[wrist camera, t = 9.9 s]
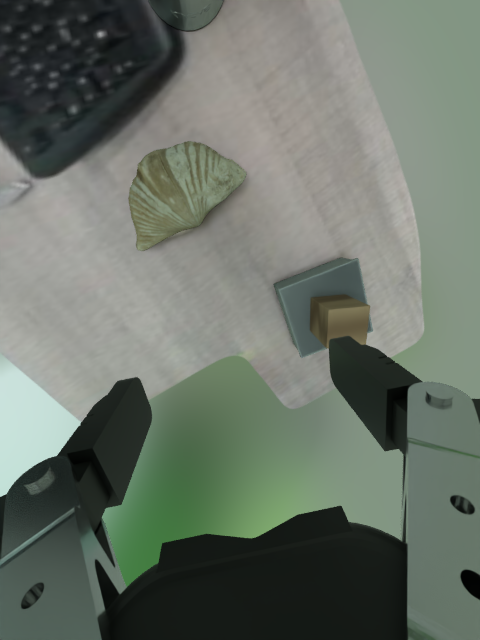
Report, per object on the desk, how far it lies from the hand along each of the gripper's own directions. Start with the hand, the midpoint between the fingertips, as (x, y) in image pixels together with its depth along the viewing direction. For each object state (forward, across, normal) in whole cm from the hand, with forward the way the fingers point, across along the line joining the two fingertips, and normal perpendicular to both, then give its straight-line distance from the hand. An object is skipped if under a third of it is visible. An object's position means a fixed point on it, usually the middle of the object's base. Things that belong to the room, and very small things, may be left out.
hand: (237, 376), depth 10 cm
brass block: (+23, -13, +7) cm, 28 cm away
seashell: (+28, +4, -11) cm, 31 cm away
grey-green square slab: (+28, -14, +7) cm, 32 cm away
